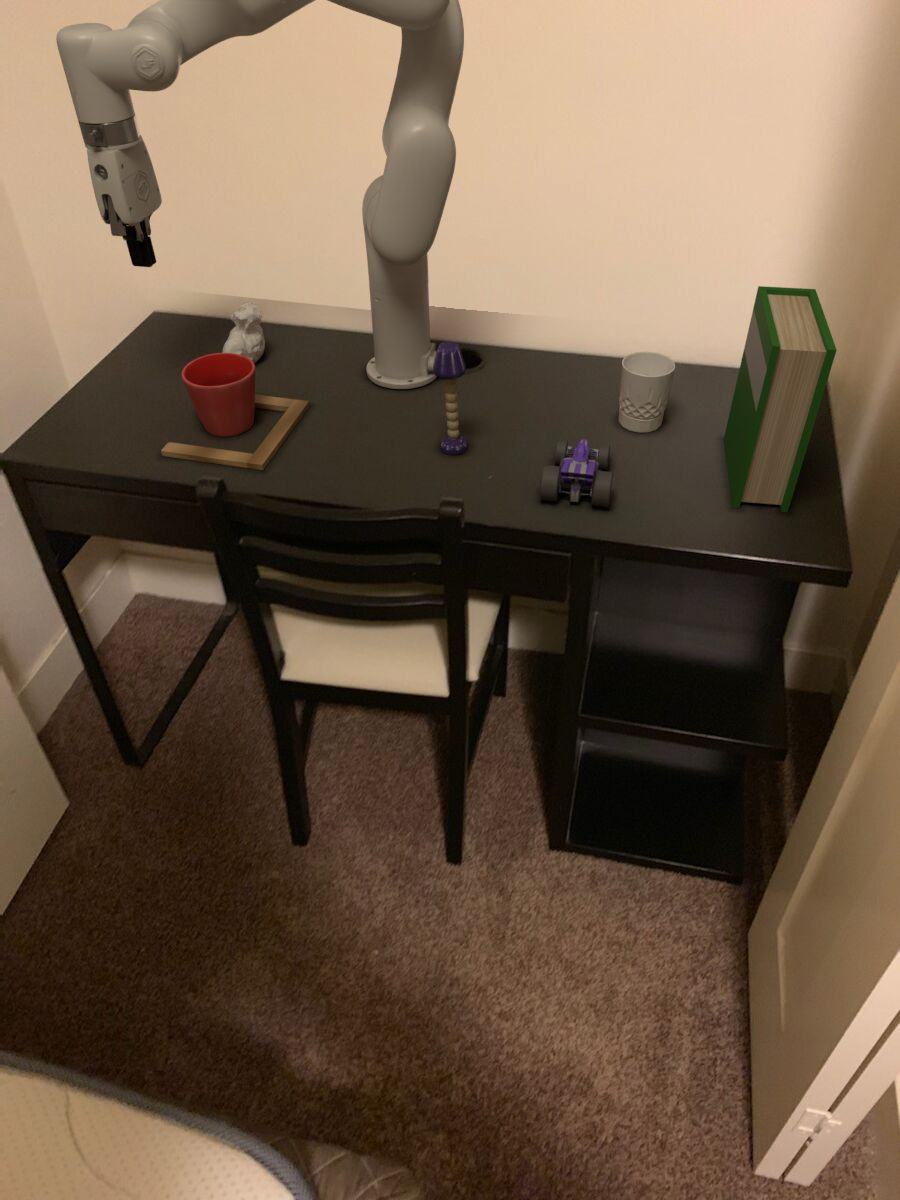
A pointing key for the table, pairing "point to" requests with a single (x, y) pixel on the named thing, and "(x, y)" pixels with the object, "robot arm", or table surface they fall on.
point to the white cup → (644, 390)
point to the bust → (246, 333)
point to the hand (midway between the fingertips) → (144, 264)
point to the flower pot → (222, 392)
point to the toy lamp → (451, 394)
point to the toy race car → (578, 473)
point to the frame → (264, 451)
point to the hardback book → (777, 395)
